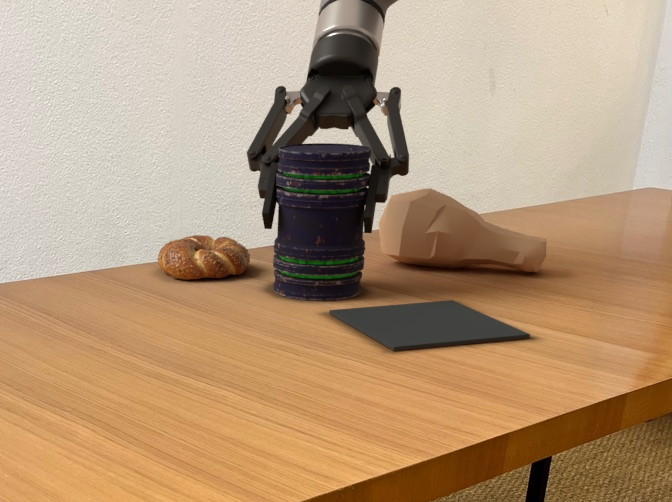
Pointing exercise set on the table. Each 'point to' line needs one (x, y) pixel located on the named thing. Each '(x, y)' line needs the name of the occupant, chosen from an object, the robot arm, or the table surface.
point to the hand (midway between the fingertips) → (316, 223)
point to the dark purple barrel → (320, 220)
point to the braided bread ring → (203, 257)
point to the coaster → (427, 325)
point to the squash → (451, 235)
